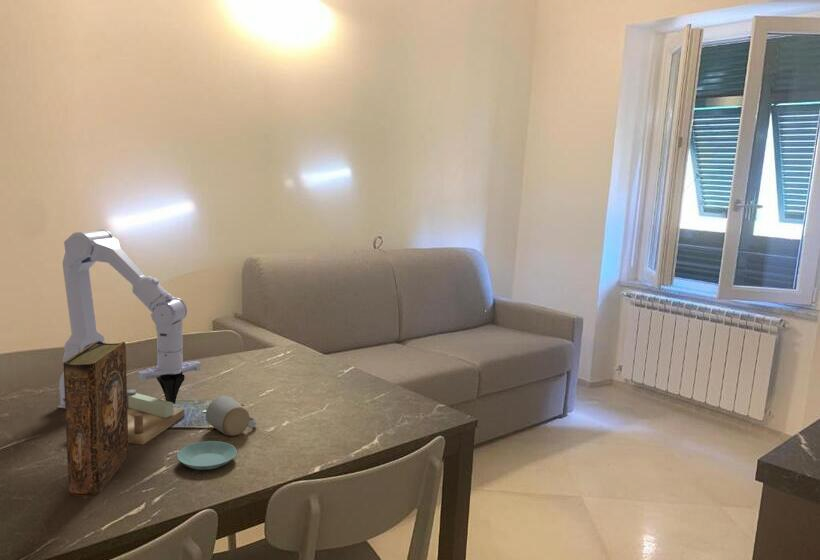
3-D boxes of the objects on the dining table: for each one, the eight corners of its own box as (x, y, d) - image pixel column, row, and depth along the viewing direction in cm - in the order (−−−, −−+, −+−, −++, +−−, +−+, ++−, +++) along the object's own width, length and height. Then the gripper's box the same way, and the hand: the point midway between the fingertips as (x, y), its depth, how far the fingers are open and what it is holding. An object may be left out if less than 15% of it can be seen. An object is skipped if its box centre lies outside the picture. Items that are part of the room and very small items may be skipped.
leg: (120, 406, 153) (120, 392, 152) (130, 402, 155) (130, 388, 155) (164, 418, 147) (164, 404, 146) (174, 414, 149) (174, 400, 149)
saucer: (246, 455, 136) (246, 445, 135) (218, 480, 124) (218, 469, 124) (197, 447, 138) (197, 437, 138) (165, 471, 127) (165, 460, 126)
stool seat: (74, 435, 140) (73, 409, 139) (121, 408, 157) (121, 385, 156) (143, 444, 137) (142, 418, 136) (184, 416, 154) (184, 393, 153)
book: (96, 496, 116) (92, 365, 111) (65, 496, 115) (59, 364, 111) (128, 456, 132) (125, 340, 128) (101, 456, 131) (97, 340, 127)
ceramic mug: (223, 441, 141) (224, 408, 140) (204, 430, 147) (205, 398, 146) (263, 430, 149) (264, 399, 148) (244, 419, 154) (245, 389, 153)
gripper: (146, 358, 143) (147, 414, 146) (206, 348, 154) (206, 401, 156) (134, 351, 148) (135, 406, 151) (192, 342, 158) (193, 393, 161)
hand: (170, 403), depth 153 cm, fingers closed
